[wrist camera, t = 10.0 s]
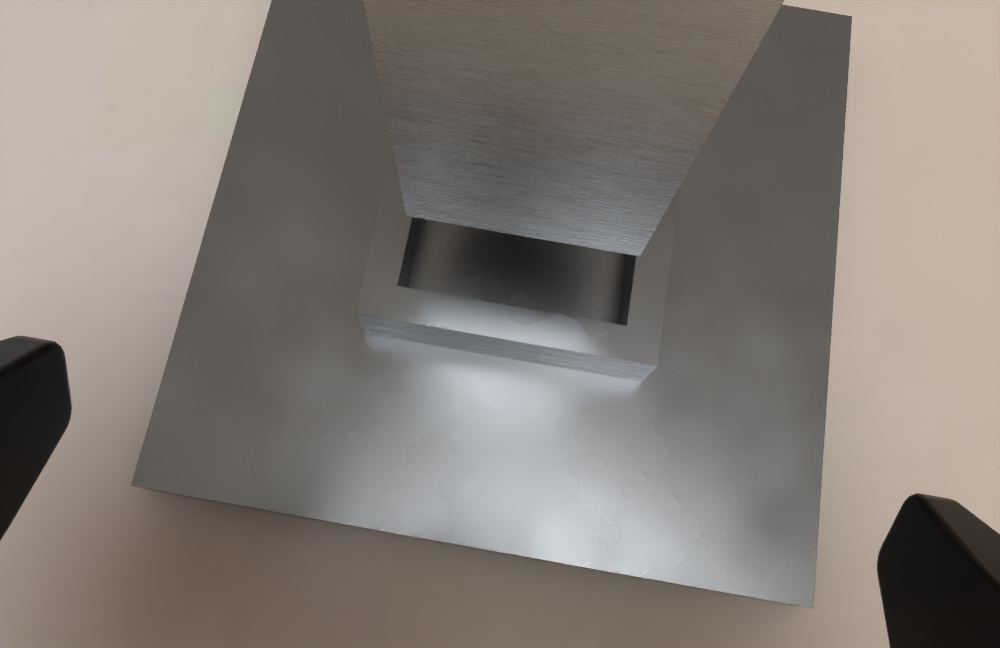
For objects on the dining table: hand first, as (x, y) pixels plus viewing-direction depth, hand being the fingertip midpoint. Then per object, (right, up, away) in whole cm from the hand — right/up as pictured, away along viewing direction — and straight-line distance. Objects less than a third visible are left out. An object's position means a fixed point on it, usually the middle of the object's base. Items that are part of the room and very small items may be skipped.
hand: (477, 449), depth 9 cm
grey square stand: (+1, +4, +13) cm, 14 cm away
